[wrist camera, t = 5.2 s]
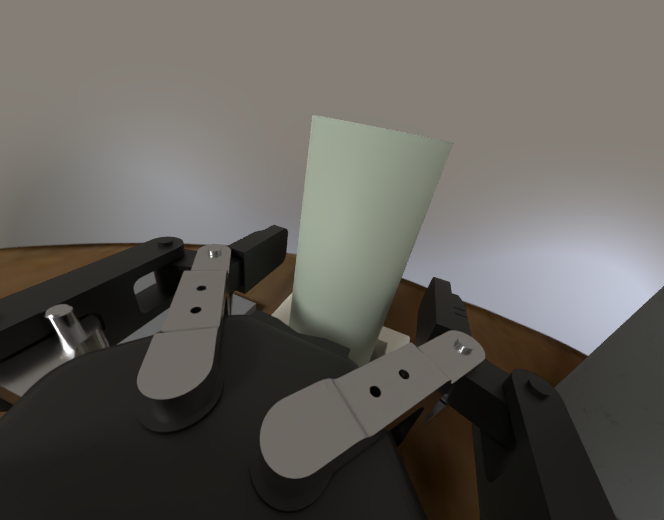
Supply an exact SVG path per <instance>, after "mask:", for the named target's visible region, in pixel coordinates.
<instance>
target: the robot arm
mask: <svg viewBox="0 0 664 520" xmlns="http://www.w3.org/2000/svg"><path fill="white" fill-rule="evenodd" d="M287 237H288V231H287V229H285V228H282V227H279V226H276V225H273V226H271V227H269V228H267V229H265V230H262V231H257V232H254V233H252V234H250V235H248V236H246V237H244V238H243V239H240V240H238V241H237V242H234V243H232V244H230V245H228V246H224V245H219V244H212V245H206V246H203V247H201V248H200V249H199V250H198V251H193V250H186V249H184V244H183V241H182V240H181V239H179V238H176V237H160V238H155V239H152V240H150V241H147V242H145V243H142V244H140V245H137V246H135V247H132V248H129V249H127V250H124V251H122V252H119V253H117V254H114V255H112V256H109V257H106V258H104V259H101V260H99V261H96V262H94V263H91V264H88V265H86V266H83V267H81V268H78V269H76V270H73V271H71V272H68V273H65V274H63V275H60V276H58V277H55V278H53V279H50V280H47V281H45V282H42V283H40V284H37V285H35V286H32V287H30V288H27V289H24V290H22V291H19V292H17V293H14V294H12V295H9V296H7V297H4V298H1V299H0V412H5V411H7V412H6V413H5V414H4V415H3V416H2V417H1V418H0V520H427V517H426V515H425V513H424V510H423V508H422V505H421V503H420V501H419V498H418V496H417V493H416V491H415V489H414V486H413V484H412V481H411V479H410V477H409V474H408V472H407V469H406V467H405V465H404V462H403V460H402V458H401V455H400V453H399V450H400V449H401V448H403V447H404V446H405V445H406V444H407V443H408V442H409V441H410V440H411V439H412V437H413V436H414V435H415V434H416V433H417V432H418V431H419V430H420V429H422V428H423V427H424V426H425V425H426V424H428V423H429V422H430V421H431V420H432V419H434V418H435V417H436V416H437V415H439V414H440V413H441V412H442V411H443V410H445V409H446V408H447V407H448V406H451V407H452V408H453V409H455V410H456V411H457V412H459V413H460V414H461V415H463V416H464V417H465V418H467V419H468V420H469V421H471V422H472V430H473V441H474V452H475V463H476V475H477V486H478V497H479V509H480V520H617V518H616V516H615V514H614V512H613V509H612V507H611V505H610V503H609V501H608V498H607V496H606V494H605V492H604V490H603V487H602V485H601V483H600V481H599V479H598V476H597V474H596V472H595V470H594V468H593V465H592V463H591V461H590V459H589V456H588V454H587V452H586V450H585V448H584V445H583V443H582V441H581V439H580V437H579V434H578V432H577V430H576V428H575V426H574V423H573V421H572V419H571V417H570V415H569V412H568V410H567V408H566V406H565V404H564V401H563V399H562V397H561V396H560V394H559V393H558V392H557V391H556V389H555V388H554V387H553V386H552V385H550V384H549V383H548V382H547V381H546V380H544V379H543V378H541V377H540V376H538V375H537V374H535V373H533V372H530V371H528V370H524V369H516V370H514V371H513V372H512V373H511V374H508V373H506V372H505V371H503V370H501V369H500V368H498V367H496V366H495V365H493V364H492V363H490V362H489V361H487V360H486V359H485V352H484V350H483V348H482V346H481V345H480V344H479V343H478V342H477V341H476V340H475V339H473V338H472V337H471V333H470V328H469V323H468V319H467V314H466V312H465V311H466V309H465V305H464V302H463V301H462V300H461V299H460V297H459V296H458V295H455V294H452V292H451V285H450V282H448V281H445V280H442V279H439V278H436V277H433V279H432V280H431V282H430V285H429V286H428V289H427V291H426V293H425V295H424V297H423V299H422V301H421V304H420V307H419V310H418V320H417V335H416V345H415V344H414V343H408V344H406V345H404V346H402V347H400V348H398V349H396V350H394V351H392V352H390V353H388V354H386V355H384V356H382V357H380V358H378V359H376V360H374V361H372V362H370V363H368V364H366V365H364V366H362V367H359V366H358V365H357V364H356V363H355V362H354V361H352V360H351V359H350V358H349V357H348V355H349V352H350V349H349V348H347V347H345V346H342V345H340V344H338V343H335V342H333V341H331V340H328V339H326V338H321V337H316V336H311V335H306V334H301V333H298V332H296V331H295V330H293V329H292V328H291V327H289V326H288V325H286V324H285V323H284V322H282V321H281V320H280V319H278V318H276V317H274V316H271V315H269V314H267V313H264V312H262V311H259V310H256V311H255V312H254V313H253V314H252V315H251V316H250V315H232V305H233V292H234V291H235V290H236V291H239V292H241V293H244V294H245V293H247V292H248V291H249V290H250V289H251V288H253V287H254V286H255V285H256V284H258V283H259V282H260V281H261V280H262V279H264V278H265V277H266V276H267V275H268V274H270V273H271V272H272V271H273V270H275V269H276V268H277V267H278V266H279V265H281V264H282V263H283V261H284V259H285V257H286V249H287ZM151 272H154V276H155V280H156V283H155V284H153V285H151V286H149V287H147V288H146V289H144V290H142V291H140V292H139V293H137V294H135V292H134V285H135V283H136V281H137V280H138V279H140V278H141V277H143V276H145V275H147V274H149V273H151ZM168 308H170V309H169V311H168V314H167V316H166V319H165V322H164V324H163V327H162V329H161V331H160V332H157V333H156V334H155V335H151V336H147V337H144V338H140V339H136V340H132V341H129V342H125V343H121V344H118V343H120V342H121V341H123V340H124V339H125V338H127V337H128V336H130V335H131V334H133V333H134V332H136V331H137V330H138V329H140V328H141V327H143V326H144V325H146V324H147V323H148V322H150V321H151V320H153V319H154V318H156V317H157V316H158V315H160V314H161V313H163V312H164V311H166V310H167V309H168Z"/></svg>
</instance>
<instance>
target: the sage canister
mask: <svg viewBox="0 0 664 520" xmlns="http://www.w3.org/2000/svg"><path fill="white" fill-rule="evenodd" d="M452 145H453V143H451V142H447V141H442V140H438V139H433V138H428V137H423V136H419V135H413V134H409V133H404V132H399V131H394V130H389V129H384V128H379V127H374V126H369V125H364V124H358V123H353V122H348V121H343V120H338V119H332V118H327V117H321V116H316V115H313V116H312V125H311V133H310V142H309V151H308V160H307V169H306V179H305V187H304V196H303V205H302V214H301V222H300V231H299V241H298V249H297V258H296V267H295V276H294V285H293V294H292V302H291V311H290V320H289V327H291V328H292V329H293V330H295V331H296V332H298V333H301V334H306V335H311V336H316V337H321V338H326V339H328V340H331V341H333V342H335V343H338V344H340V345H342V346H345V347H347V348H349V349H350V352H349V355H348V357H349V358H350V359H351V360H352V361H354V362H355V363H356V364H357V365H358V366H359V367H362V366H364V365H366V364H368V363H369V361H370V358H371V355H372V353H373V350H374V348H375V345H376V342H377V340H378V337H379V335H380V332H381V330H382V327H383V324H384V322H385V319H386V317H387V314H388V311H389V309H390V306H391V304H392V301H393V298H394V296H395V293H396V291H397V288H398V285H399V283H400V280H401V278H402V275H403V272H404V270H405V267H406V265H407V262H408V259H409V257H410V254H411V252H412V249H413V246H414V244H415V241H416V239H417V236H418V233H419V231H420V228H421V226H422V223H423V221H424V218H425V215H426V213H427V210H428V208H429V205H430V202H431V200H432V197H433V195H434V192H435V189H436V187H437V184H438V181H439V179H440V176H441V174H442V171H443V169H444V166H445V163H446V161H447V158H448V156H449V153H450V150H451V148H452Z"/></svg>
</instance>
